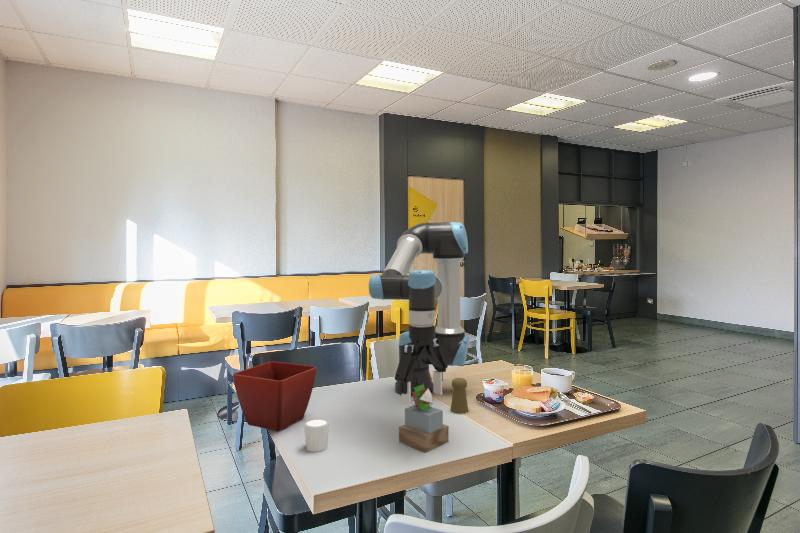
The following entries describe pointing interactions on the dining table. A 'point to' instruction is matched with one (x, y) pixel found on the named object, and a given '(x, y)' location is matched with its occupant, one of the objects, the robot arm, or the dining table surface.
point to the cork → (459, 396)
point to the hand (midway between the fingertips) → (422, 399)
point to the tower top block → (424, 419)
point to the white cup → (316, 434)
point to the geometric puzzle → (422, 397)
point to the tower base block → (423, 438)
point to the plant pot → (274, 393)
